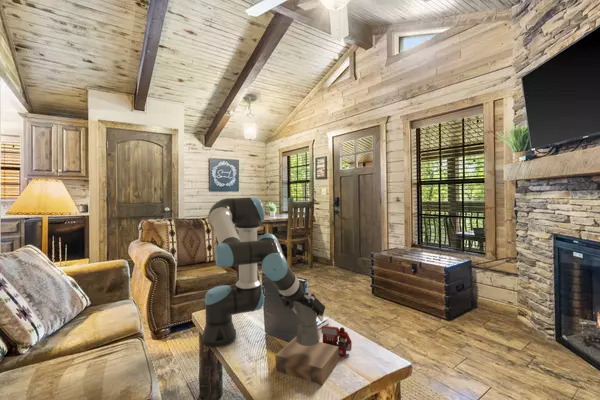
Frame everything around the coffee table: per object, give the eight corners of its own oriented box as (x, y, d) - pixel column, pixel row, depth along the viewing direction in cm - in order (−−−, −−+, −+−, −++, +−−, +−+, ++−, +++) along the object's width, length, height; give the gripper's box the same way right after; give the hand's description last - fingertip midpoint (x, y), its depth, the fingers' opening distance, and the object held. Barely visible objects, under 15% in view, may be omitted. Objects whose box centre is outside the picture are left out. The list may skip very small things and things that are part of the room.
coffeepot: (325, 347, 106) (323, 297, 106) (299, 350, 104) (297, 299, 104) (314, 328, 121) (312, 284, 121) (291, 331, 119) (290, 287, 119)
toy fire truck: (350, 358, 118) (350, 332, 117) (320, 354, 121) (319, 329, 121) (352, 349, 124) (352, 325, 124) (323, 345, 128) (323, 322, 127)
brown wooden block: (275, 370, 110) (275, 355, 110) (296, 350, 124) (296, 336, 124) (322, 385, 101) (321, 368, 101) (338, 361, 116) (338, 346, 115)
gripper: (259, 292, 103) (283, 319, 118) (315, 302, 93) (334, 330, 108) (267, 273, 108) (290, 302, 122) (321, 280, 98) (339, 311, 112)
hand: (311, 315), depth 115 cm, fingers closed on coffeepot, 9 cm apart
